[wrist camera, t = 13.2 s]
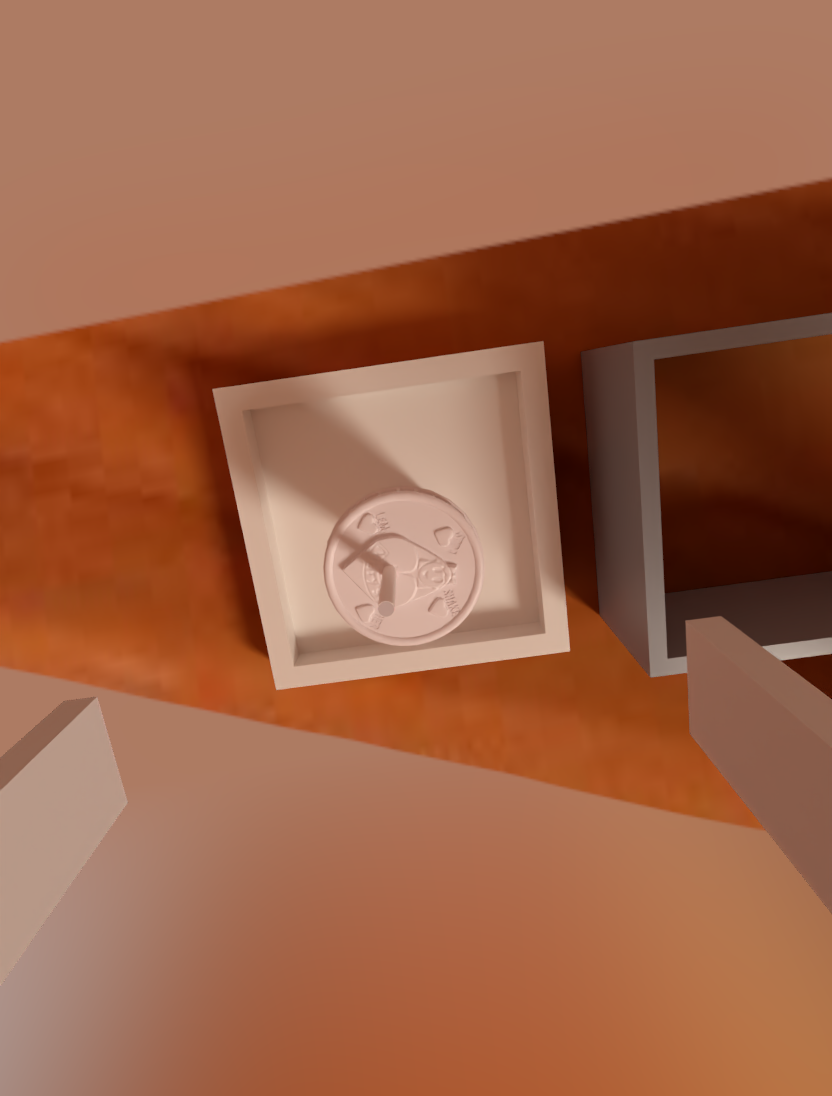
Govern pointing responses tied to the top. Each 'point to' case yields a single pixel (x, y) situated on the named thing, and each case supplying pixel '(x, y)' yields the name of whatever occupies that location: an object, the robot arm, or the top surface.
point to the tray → (391, 461)
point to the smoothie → (404, 566)
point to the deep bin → (635, 514)
